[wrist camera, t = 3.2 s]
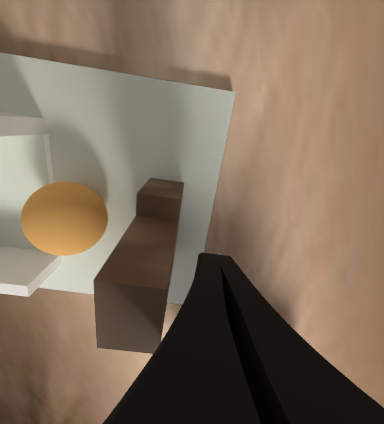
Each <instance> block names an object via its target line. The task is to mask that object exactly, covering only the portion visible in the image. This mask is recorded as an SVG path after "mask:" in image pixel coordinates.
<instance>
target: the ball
mask: <svg viewBox="0 0 384 424" xmlns="http://www.w3.org/2000/svg"><path fill="white" fill-rule="evenodd" d="M107 224H108V213H107V208H106V206H105V204H104V202H103V200H102V199H101V197H100V196H99V195H98V194H97V193H96V192H95V191H93V190H92V189H90V188H89V187H87V186H85V185H82V184H79V183H75V182H55V183H51V184H48V185H45V186H43V187H41V188H40V189H38V190H37V191H35V192H34V193H33V194H32V195H31V196H30V197H29V198H28V199H27V201H26V202H25V204H24V206H23V209H22V213H21V226H22V230H23V232H24V234H25V236H26V238H27V239H28V240H29V241H30V242H31V243H32V244H33V245H34V246H35V247H36V248H38V249H40V250H41V251H43V252H46V253H49V254H53V255H59V256H68V255H75V254H78V253H81V252H84V251H86V250H88V249H90V248H91V247H93V246H94V245H95V244H96V243H97V242H98V241H99V240H100V239H101V238H102V236H103V234H104V233H105V230H106V228H107Z"/></svg>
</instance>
